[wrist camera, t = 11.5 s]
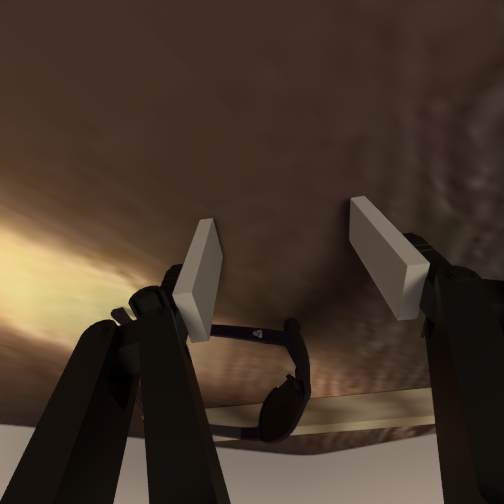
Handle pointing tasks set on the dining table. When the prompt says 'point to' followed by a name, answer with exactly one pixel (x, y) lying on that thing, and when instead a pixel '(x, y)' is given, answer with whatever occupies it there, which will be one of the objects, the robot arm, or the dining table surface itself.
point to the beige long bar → (341, 412)
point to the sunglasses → (280, 399)
